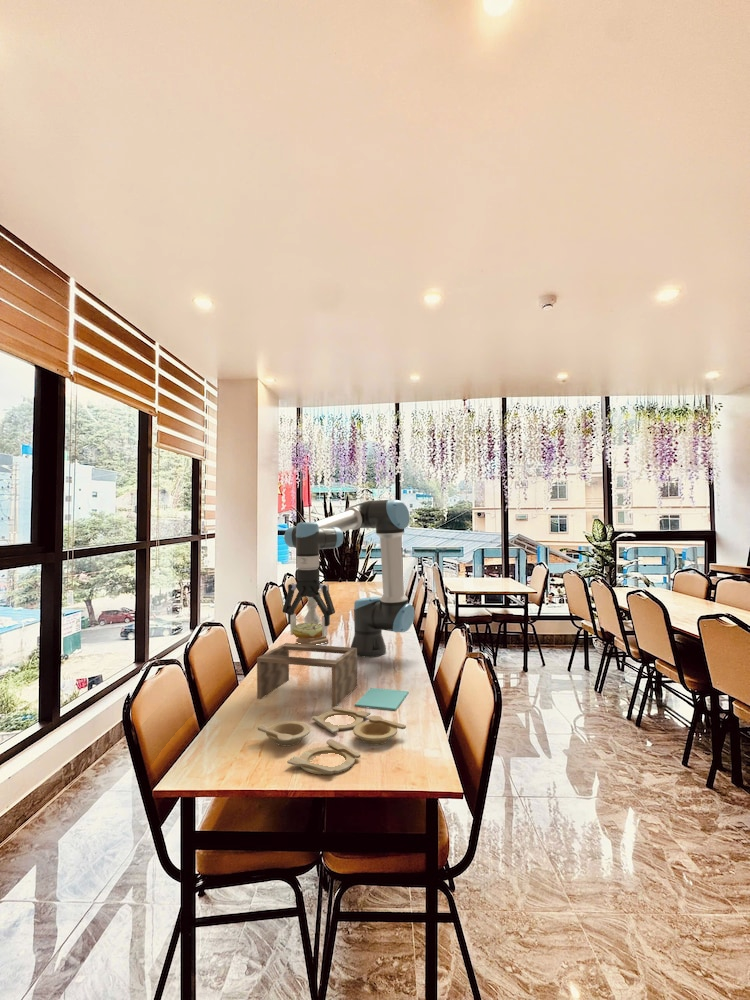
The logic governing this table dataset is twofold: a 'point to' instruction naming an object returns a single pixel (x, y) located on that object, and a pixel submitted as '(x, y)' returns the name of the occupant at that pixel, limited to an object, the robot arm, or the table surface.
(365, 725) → the tableware set
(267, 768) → the table surface
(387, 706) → the mat
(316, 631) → the decorated donut
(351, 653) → the box
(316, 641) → the candle holder
